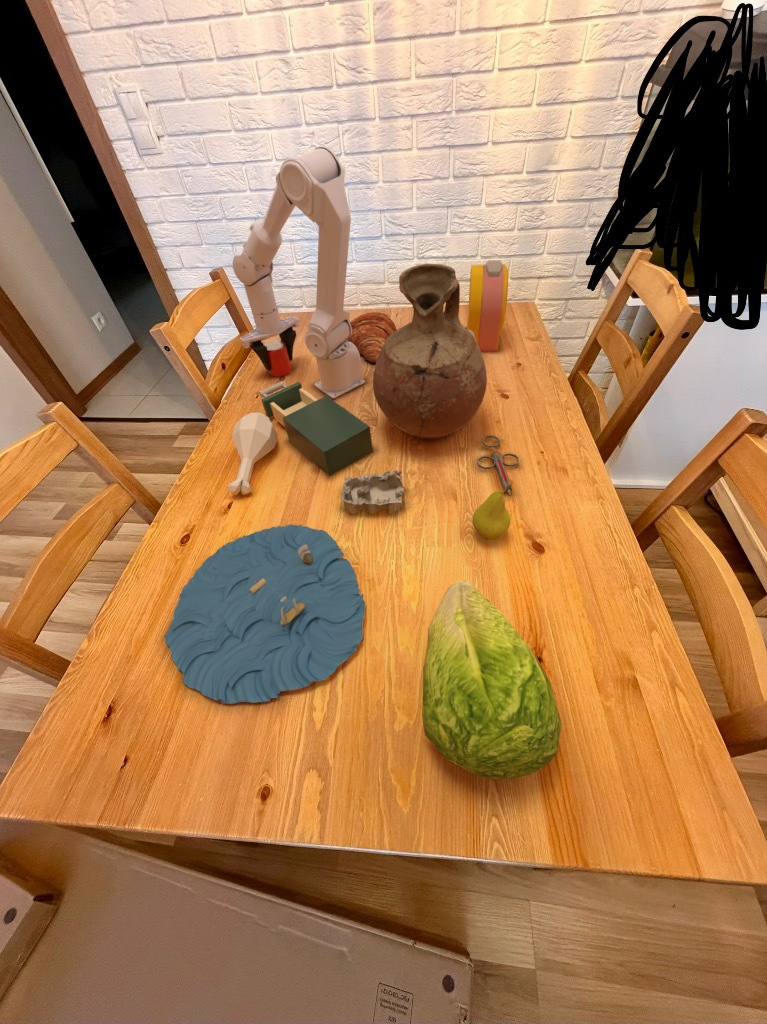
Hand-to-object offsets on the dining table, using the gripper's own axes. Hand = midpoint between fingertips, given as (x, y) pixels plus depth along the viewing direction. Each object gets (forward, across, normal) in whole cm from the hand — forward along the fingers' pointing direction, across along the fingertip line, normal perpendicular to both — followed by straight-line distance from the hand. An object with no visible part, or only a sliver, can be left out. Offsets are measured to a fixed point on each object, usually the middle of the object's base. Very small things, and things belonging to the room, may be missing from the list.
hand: (279, 364), depth 113 cm
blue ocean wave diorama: (+2, +36, +58) cm, 68 cm away
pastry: (+2, -24, +7) cm, 25 cm away
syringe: (+2, -11, +61) cm, 62 cm away
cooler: (+2, +8, +33) cm, 34 cm away
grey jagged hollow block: (+2, +11, +51) cm, 52 cm away
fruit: (+2, +2, +70) cm, 70 cm away
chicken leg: (+2, +22, +27) cm, 35 cm away
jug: (+2, -11, +42) cm, 43 cm away
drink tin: (+2, 0, 0) cm, 2 cm away
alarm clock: (+2, -45, +26) cm, 52 cm away
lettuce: (+2, +21, +85) cm, 88 cm away
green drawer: (+1, +8, +20) cm, 21 cm away
